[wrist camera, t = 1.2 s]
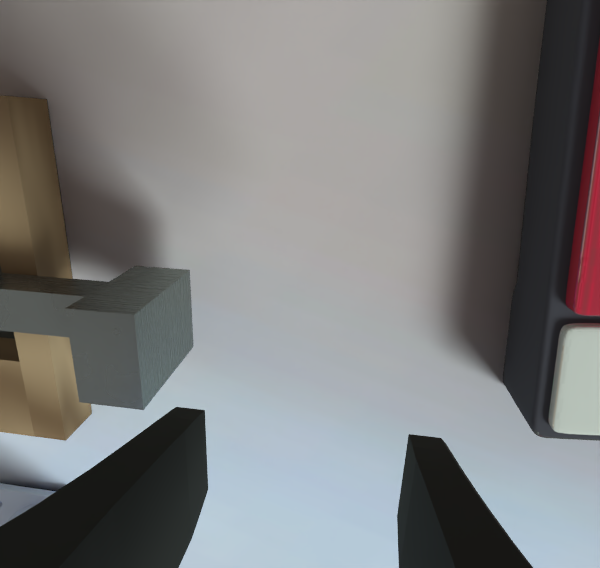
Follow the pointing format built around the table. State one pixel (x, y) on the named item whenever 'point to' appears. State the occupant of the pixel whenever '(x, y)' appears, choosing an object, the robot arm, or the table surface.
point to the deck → (38, 262)
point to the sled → (108, 328)
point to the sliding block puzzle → (561, 237)
